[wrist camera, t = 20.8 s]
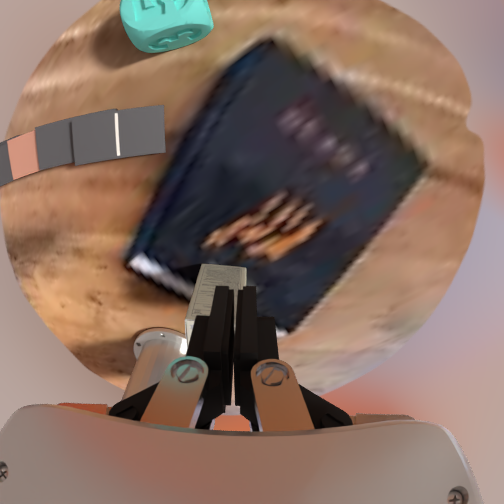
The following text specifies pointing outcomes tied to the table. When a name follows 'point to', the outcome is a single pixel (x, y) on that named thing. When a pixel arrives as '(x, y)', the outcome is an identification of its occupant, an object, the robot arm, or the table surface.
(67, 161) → the domino
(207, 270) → the skincare box
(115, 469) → the robot arm
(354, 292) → the table surface
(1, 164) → the domino
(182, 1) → the decorative dice
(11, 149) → the domino
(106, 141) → the domino
